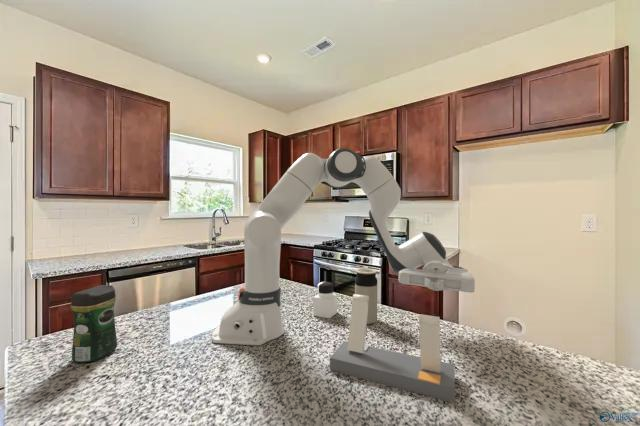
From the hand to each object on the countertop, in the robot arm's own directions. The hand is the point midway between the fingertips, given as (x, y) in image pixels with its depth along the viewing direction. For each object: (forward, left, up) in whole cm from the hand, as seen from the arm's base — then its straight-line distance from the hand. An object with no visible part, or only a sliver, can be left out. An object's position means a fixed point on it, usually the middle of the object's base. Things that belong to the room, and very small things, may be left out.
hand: (433, 285), depth 75 cm
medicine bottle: (-26, +34, -20) cm, 47 cm away
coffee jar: (-92, +9, -20) cm, 94 cm away
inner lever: (-21, -1, -16) cm, 27 cm away
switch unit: (-14, -6, -20) cm, 24 cm away
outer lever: (-6, -10, -16) cm, 20 cm away
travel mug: (-12, +27, -20) cm, 35 cm away
